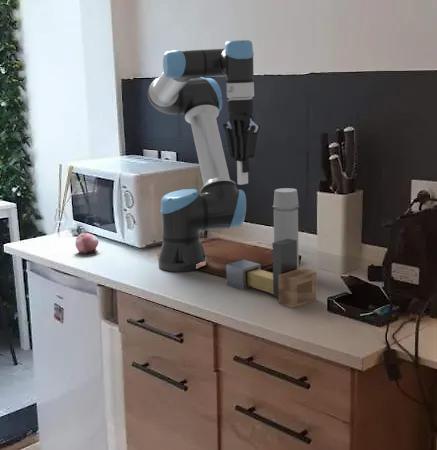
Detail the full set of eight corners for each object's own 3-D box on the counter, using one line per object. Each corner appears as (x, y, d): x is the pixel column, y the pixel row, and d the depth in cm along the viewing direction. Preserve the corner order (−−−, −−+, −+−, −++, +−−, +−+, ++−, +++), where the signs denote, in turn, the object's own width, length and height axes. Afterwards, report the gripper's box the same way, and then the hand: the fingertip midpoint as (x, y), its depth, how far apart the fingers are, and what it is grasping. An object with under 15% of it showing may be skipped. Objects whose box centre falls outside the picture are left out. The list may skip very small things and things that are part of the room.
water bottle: (298, 276, 209) (297, 192, 204) (272, 276, 211) (270, 192, 205) (301, 267, 218) (300, 186, 212) (275, 267, 220) (274, 186, 214)
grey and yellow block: (238, 284, 201) (236, 234, 198) (253, 279, 205) (252, 230, 202) (292, 301, 186) (291, 247, 182) (308, 296, 190) (307, 243, 186)
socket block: (278, 303, 188) (278, 275, 186) (302, 295, 193) (302, 267, 192) (292, 308, 184) (292, 279, 182) (316, 299, 190) (316, 271, 188)
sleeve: (226, 284, 205) (226, 264, 203) (244, 279, 209) (243, 259, 208) (243, 290, 200) (242, 269, 198) (261, 284, 204) (260, 264, 202)
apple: (73, 256, 244) (69, 235, 245) (93, 254, 249) (89, 233, 250) (84, 253, 238) (81, 231, 239) (104, 250, 243) (101, 229, 244)
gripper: (214, 99, 199) (217, 183, 204) (246, 100, 189) (248, 188, 194) (234, 97, 203) (237, 179, 209) (266, 98, 194) (268, 184, 199)
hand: (242, 183), depth 202 cm, fingers closed
